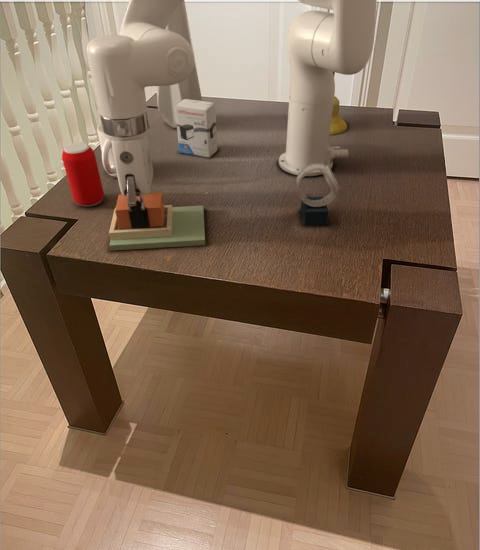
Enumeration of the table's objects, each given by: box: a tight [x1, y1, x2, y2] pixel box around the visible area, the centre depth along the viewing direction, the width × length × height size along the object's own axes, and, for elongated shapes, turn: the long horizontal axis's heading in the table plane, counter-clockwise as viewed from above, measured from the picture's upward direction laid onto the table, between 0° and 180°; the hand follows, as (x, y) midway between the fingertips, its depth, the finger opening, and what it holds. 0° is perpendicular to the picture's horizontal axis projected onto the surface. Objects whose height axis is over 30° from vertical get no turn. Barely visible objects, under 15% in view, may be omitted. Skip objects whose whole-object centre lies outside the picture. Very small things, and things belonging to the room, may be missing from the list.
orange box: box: [114, 191, 165, 229], centre depth 84 cm, size 8×6×4 cm
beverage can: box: [61, 142, 105, 208], centre depth 91 cm, size 6×6×12 cm
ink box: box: [175, 99, 218, 158], centre depth 110 cm, size 8×5×12 cm, turn 68°
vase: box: [156, 0, 203, 129], centre depth 117 cm, size 12×12×33 cm
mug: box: [96, 123, 118, 178], centre depth 101 cm, size 12×8×10 cm
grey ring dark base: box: [295, 163, 340, 227], centre depth 86 cm, size 6×8×11 cm
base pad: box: [108, 204, 206, 252], centre depth 86 cm, size 17×12×3 cm
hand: (142, 217), depth 85 cm, fingers closed on orange box, 5 cm apart
